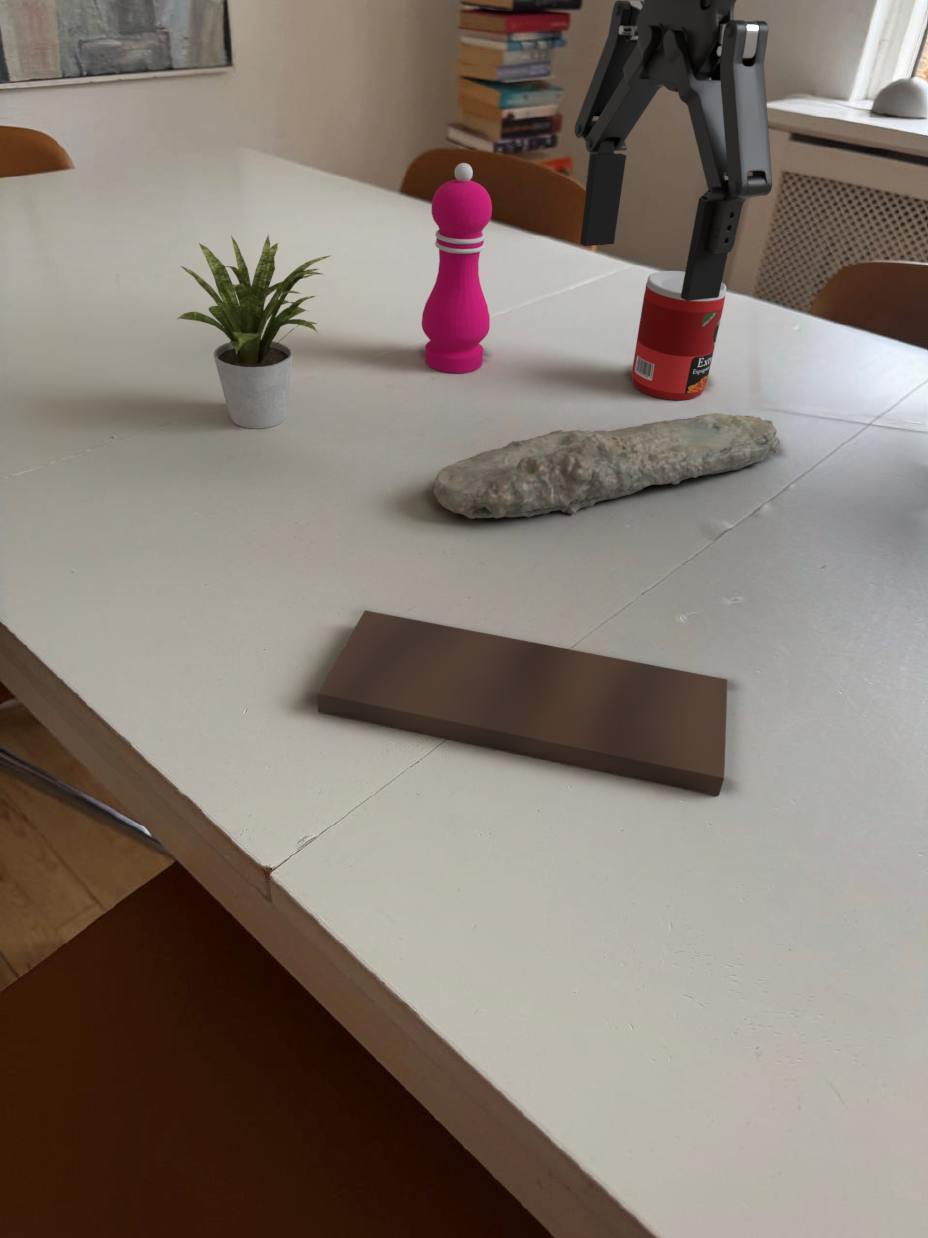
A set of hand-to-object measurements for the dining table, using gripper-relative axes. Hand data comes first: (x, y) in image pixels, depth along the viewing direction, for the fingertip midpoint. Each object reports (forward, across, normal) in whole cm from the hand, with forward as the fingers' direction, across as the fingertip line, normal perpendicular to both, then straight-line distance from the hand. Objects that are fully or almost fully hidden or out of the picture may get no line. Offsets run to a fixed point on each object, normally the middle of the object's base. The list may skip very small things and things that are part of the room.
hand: (644, 269), depth 72 cm
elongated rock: (+19, -2, +2) cm, 19 cm away
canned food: (+19, -18, +19) cm, 32 cm away
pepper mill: (+19, -31, -1) cm, 36 cm away
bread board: (+19, +22, -20) cm, 35 cm away
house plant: (+19, -22, -24) cm, 38 cm away
